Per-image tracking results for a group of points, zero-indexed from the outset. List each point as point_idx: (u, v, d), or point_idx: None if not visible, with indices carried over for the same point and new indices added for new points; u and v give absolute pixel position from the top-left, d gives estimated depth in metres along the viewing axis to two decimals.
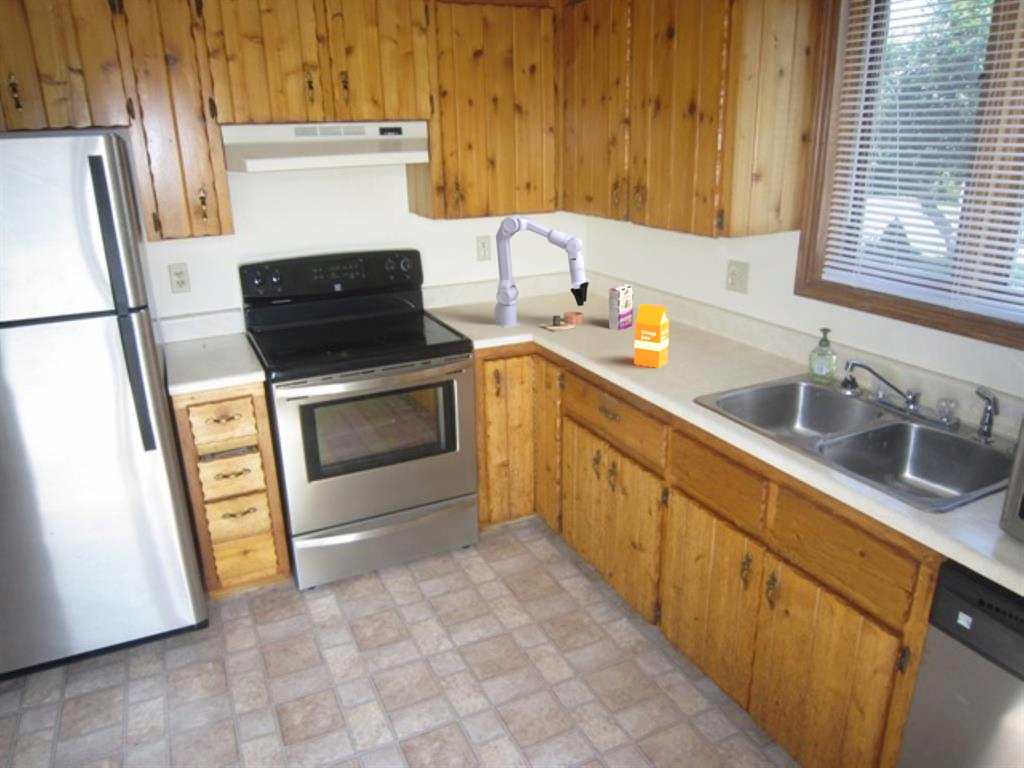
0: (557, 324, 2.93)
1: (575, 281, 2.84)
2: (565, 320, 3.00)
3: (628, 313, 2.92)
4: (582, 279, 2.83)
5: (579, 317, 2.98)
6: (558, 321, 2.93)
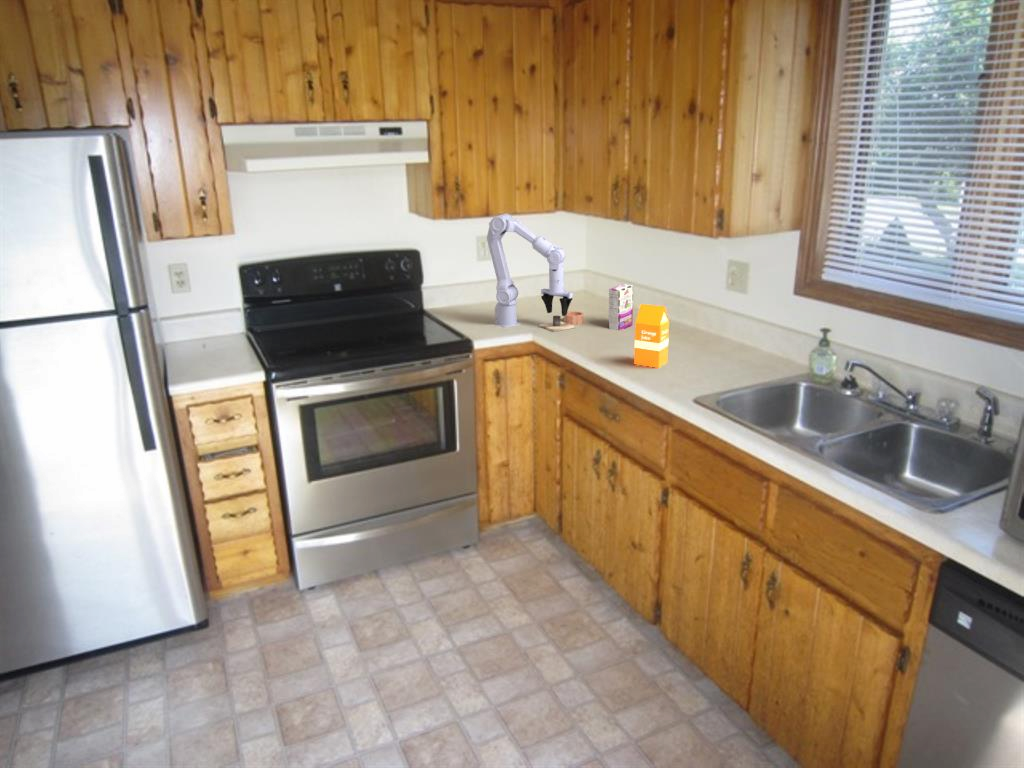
0: (557, 324, 2.93)
1: (560, 291, 2.87)
2: (565, 320, 3.00)
3: (628, 313, 2.92)
4: (563, 289, 2.90)
5: (579, 317, 2.98)
6: (558, 321, 2.93)
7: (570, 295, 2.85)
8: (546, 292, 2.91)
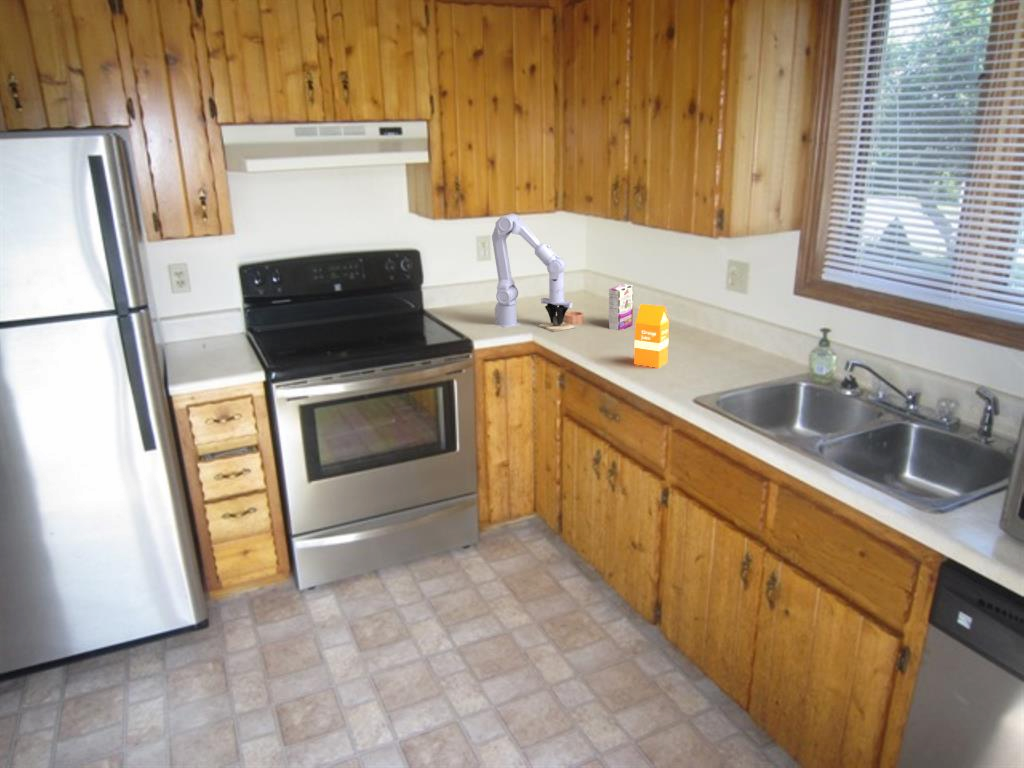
0: (557, 324, 2.93)
1: (560, 301, 2.89)
2: (565, 320, 3.00)
3: (628, 313, 2.92)
4: (563, 299, 2.91)
5: (579, 317, 2.98)
6: None
7: (570, 305, 2.86)
8: (546, 301, 2.92)
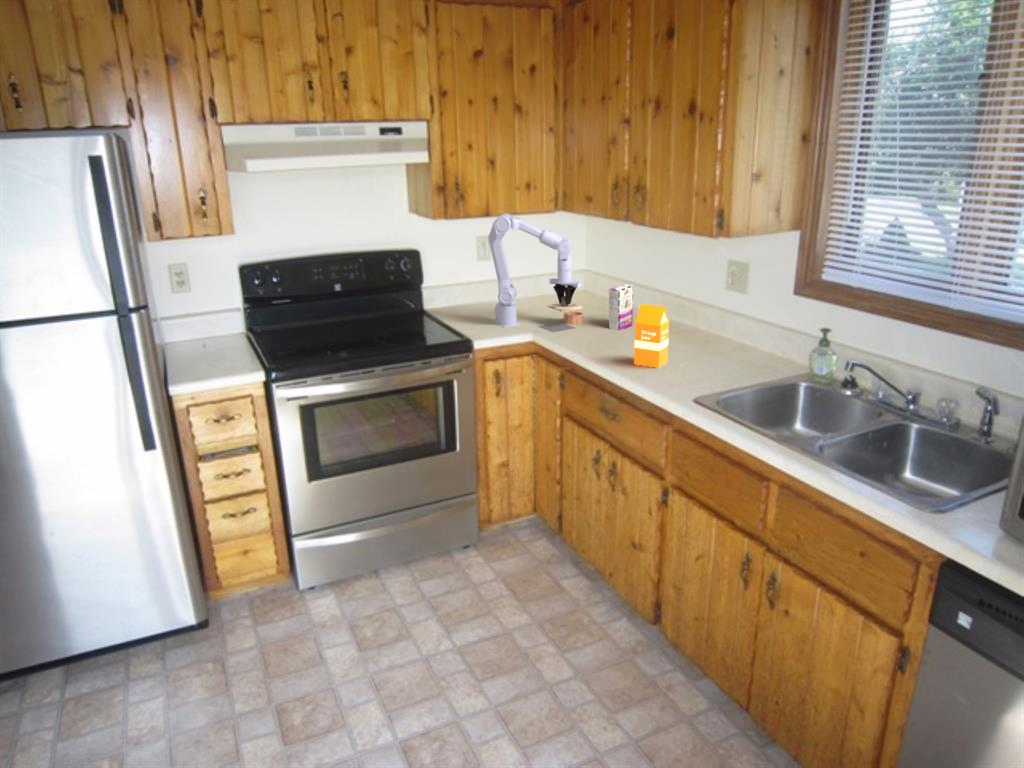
0: (565, 304, 2.94)
1: (568, 281, 2.90)
2: (565, 320, 3.00)
3: (628, 313, 2.92)
4: (572, 279, 2.92)
5: (579, 317, 2.98)
6: None
7: (578, 284, 2.87)
8: (554, 282, 2.93)
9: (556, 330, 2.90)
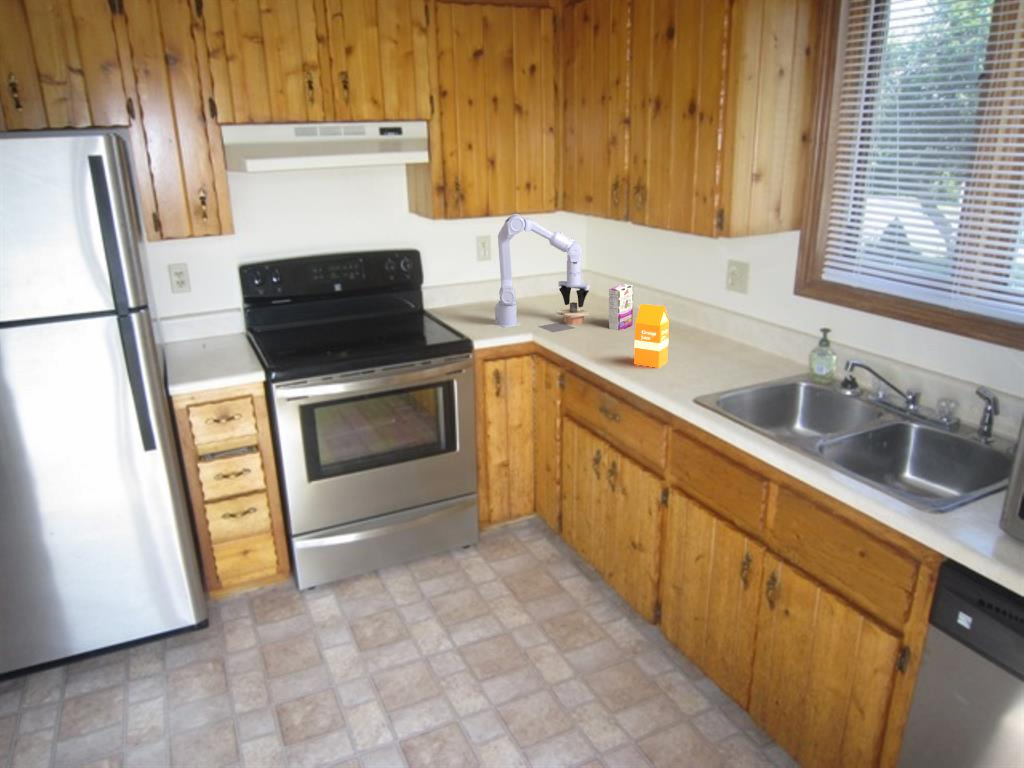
0: (574, 311, 2.99)
1: (578, 284, 2.95)
2: (565, 320, 3.00)
3: (628, 313, 2.92)
4: (581, 282, 2.97)
5: (579, 317, 2.98)
6: (575, 308, 2.99)
7: (587, 287, 2.92)
8: (563, 284, 2.98)
9: (556, 330, 2.90)
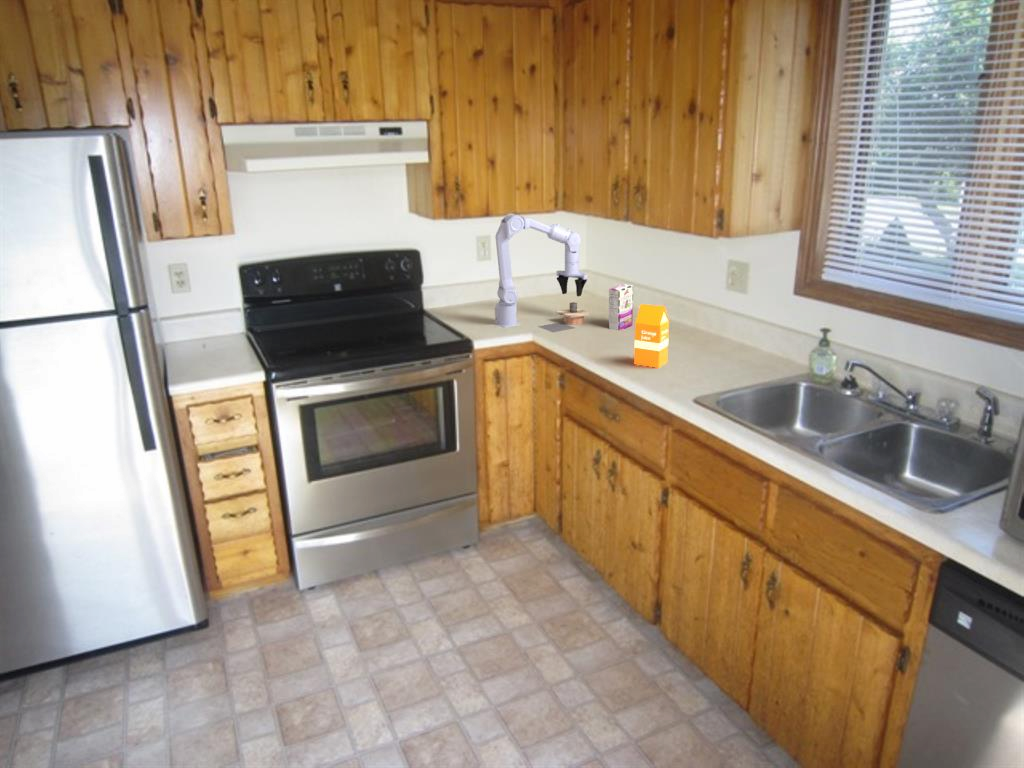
0: (574, 311, 2.99)
1: (575, 273, 2.99)
2: (565, 320, 3.00)
3: (628, 313, 2.92)
4: (578, 271, 3.01)
5: (579, 317, 2.98)
6: (575, 308, 2.99)
7: (585, 276, 2.96)
8: (561, 274, 3.02)
9: (556, 330, 2.90)
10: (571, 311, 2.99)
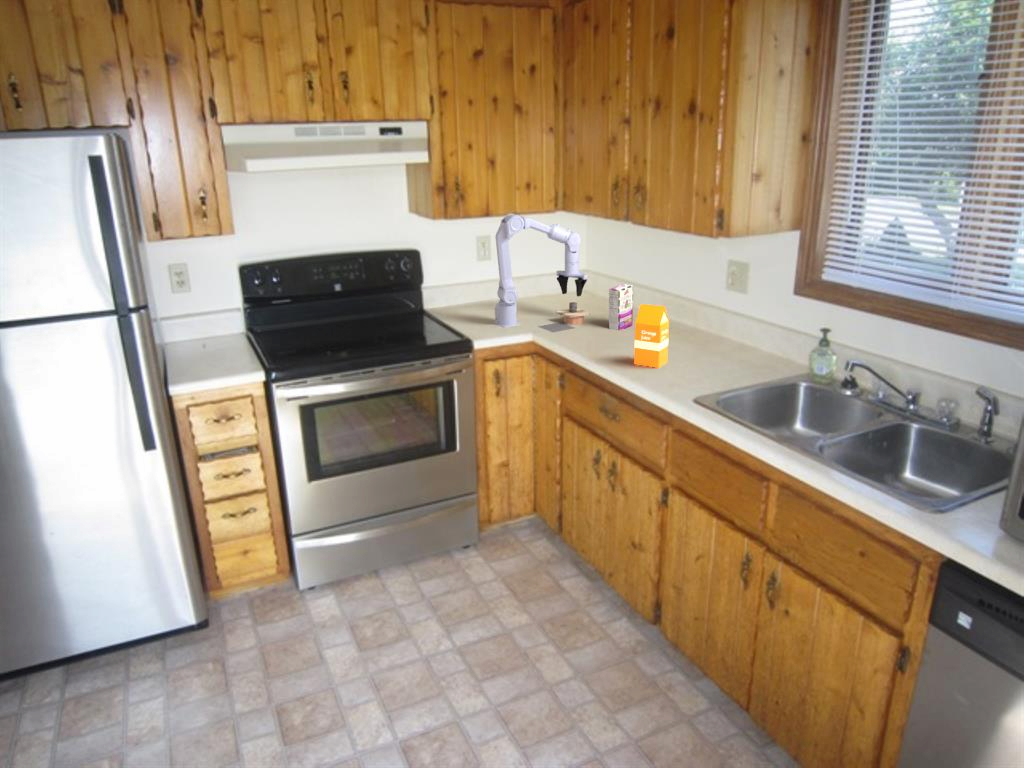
0: (573, 310, 2.99)
1: (575, 273, 2.99)
2: (565, 320, 3.00)
3: (628, 313, 2.92)
4: (578, 271, 3.01)
5: (579, 317, 2.98)
6: (574, 308, 2.99)
7: (585, 276, 2.96)
8: (561, 274, 3.02)
9: (556, 330, 2.90)
10: (571, 311, 2.99)
